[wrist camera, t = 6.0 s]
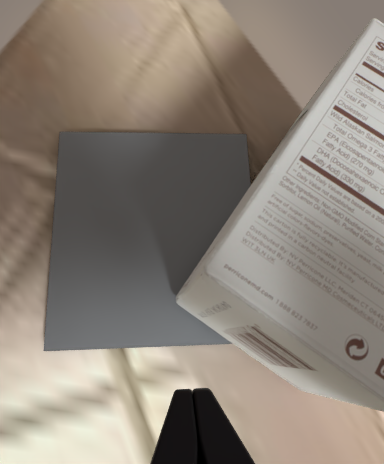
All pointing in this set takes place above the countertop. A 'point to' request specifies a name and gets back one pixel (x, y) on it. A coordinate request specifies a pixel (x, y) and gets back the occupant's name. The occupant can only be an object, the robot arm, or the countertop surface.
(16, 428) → the countertop surface
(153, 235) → the rubber mat
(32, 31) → the countertop surface
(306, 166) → the supplement box
